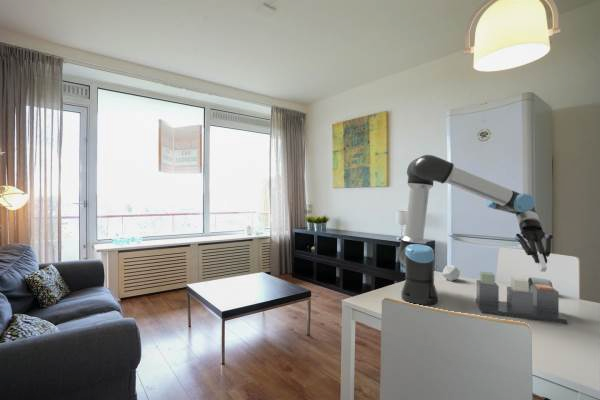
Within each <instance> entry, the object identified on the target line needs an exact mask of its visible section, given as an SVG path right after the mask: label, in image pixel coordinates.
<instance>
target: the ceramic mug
mask: <svg viewBox="0 0 600 400" xmlns="http://www.w3.org/2000/svg"><path fill="white" fill-rule="evenodd" d="M527 281H528V282H529V290H530V291H531V285H535V284H540V285H549V286H551V287H552V288H554V286H553V283H552V281H551V280H550V279H546V278H540V277H533V276H529V277H528V279H527Z"/></svg>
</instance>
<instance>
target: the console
mask: <svg viewBox="0 0 600 400" xmlns="http://www.w3.org/2000/svg"><path fill="white" fill-rule="evenodd" d="M499 287H500V286H499V285H498V284H497V283H496V282H495V285H487V284H481V283H480V279H479V280H476V298H475V304H476V305H477V307H478V309H479V311H480V312H481V314H487V315H493V316H494V315H495V316H496V315H497V316H503V317H511V318H519V319H527V320H534V321H540V322H541V321H542V322H551V323H557V324H565V325H568V319H567V318H566V317H564V316H563V315H562V314H561V313H560V311H559V308H560V307H559V299H560V298H559V291H558V290H556V289H555V288H554V291H550V290H540V289H537V288H536V287H535V285H531V291H530V290H529V292H519V291H513V290H512V289H511V286H506V301H502V300H499V297H500V295H499Z"/></svg>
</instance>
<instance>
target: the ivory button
mask: <svg viewBox="0 0 600 400" xmlns="http://www.w3.org/2000/svg"><path fill="white" fill-rule="evenodd" d="M510 287H511V289H512V290H513V291H519V292H529V282H528V279H526V278H521V277H513V276H512V277H510Z"/></svg>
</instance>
